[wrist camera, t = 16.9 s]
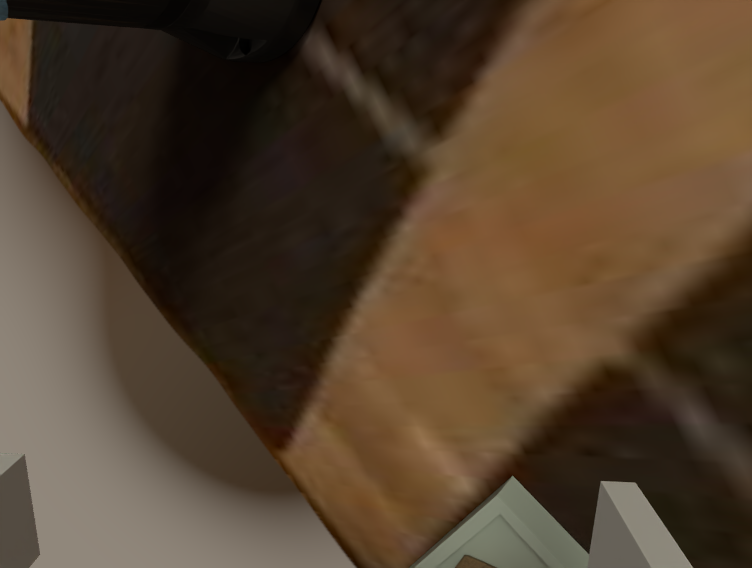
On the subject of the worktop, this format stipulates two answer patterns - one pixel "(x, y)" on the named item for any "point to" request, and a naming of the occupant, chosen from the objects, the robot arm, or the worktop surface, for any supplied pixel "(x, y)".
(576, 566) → the tray
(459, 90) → the worktop surface
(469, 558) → the candle holder
